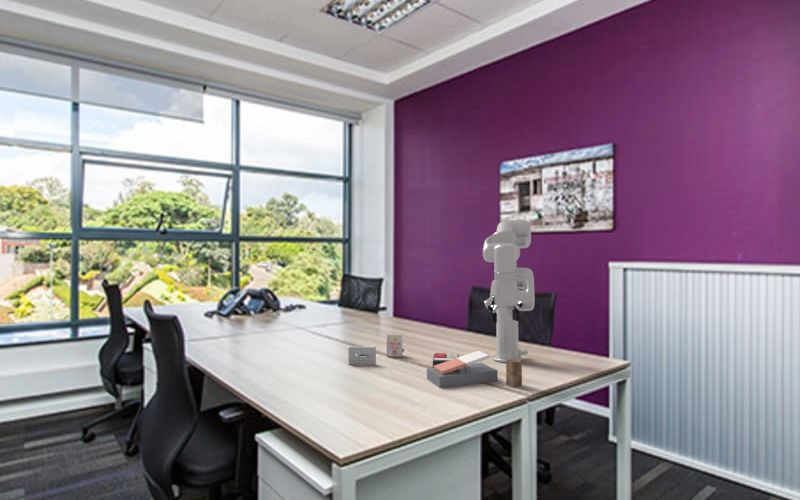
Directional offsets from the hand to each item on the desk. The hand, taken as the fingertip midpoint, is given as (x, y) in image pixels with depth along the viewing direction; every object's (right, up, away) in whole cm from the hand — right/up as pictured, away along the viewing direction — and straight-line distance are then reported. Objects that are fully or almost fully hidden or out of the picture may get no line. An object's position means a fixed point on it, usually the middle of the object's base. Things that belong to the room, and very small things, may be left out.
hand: (504, 321), depth 172 cm
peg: (+2, -22, -7) cm, 23 cm away
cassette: (-56, -23, +25) cm, 66 cm away
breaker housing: (-16, -22, +1) cm, 28 cm away
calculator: (-20, -23, +24) cm, 38 cm away
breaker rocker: (-16, -16, +1) cm, 23 cm away
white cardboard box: (-42, -23, +39) cm, 62 cm away
